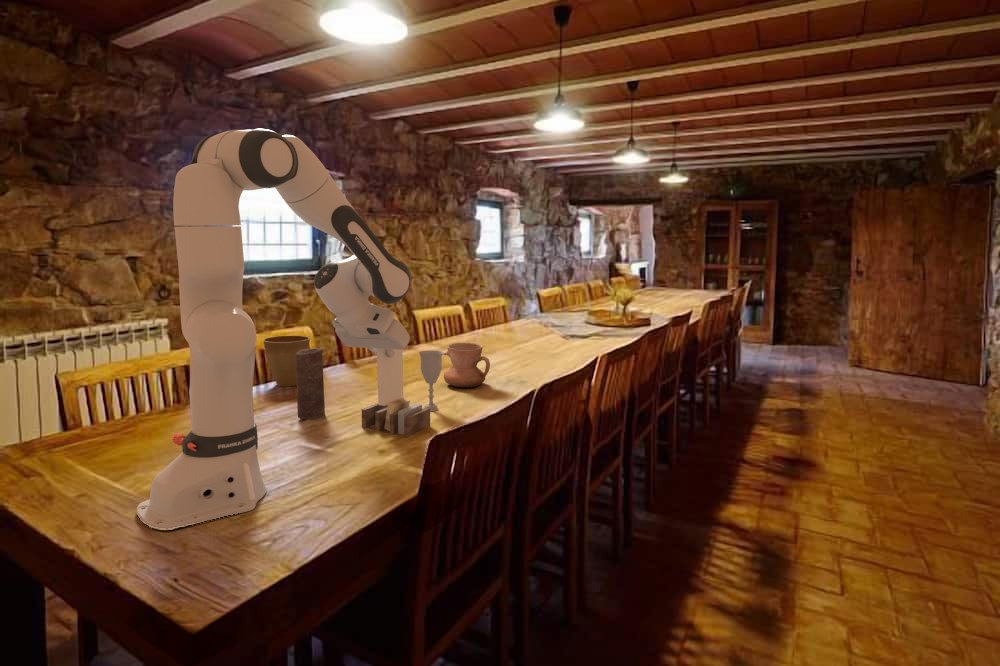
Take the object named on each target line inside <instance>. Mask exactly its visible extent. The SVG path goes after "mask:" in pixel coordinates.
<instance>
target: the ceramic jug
mask: <svg viewBox="0 0 1000 666" xmlns="http://www.w3.org/2000/svg"><path fill="white" fill-rule="evenodd" d="M442 352H443V355H442V356H447V357H448V358H449V359H450V361H451V364H452V366H451V367H450V368H448V369H447V370H445V371H444V372H443V373H444V374H443V380H444V381H445V383H446V384H448V385H449V386H451V387H455V388H461V389H462V388H463V389H465V388H474V387H477V386H478V387H479V386H480V385H482V384H483V383H484V382H485V380H486V377H487V376H488V373H489V371H490V367H491V362H490V359H489V358H488V357H487V356H483V355H482V353H483V345H482V344H479V343H474V342H453V343H449V344H448V345H447V350H445V351H442ZM481 355H482V356H481ZM482 361H484V363H485V369H484V371H482V370H481V369H480V368H479V367H477V365H478V364H479V363H480V362H482Z"/></svg>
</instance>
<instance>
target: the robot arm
mask: <svg viewBox="0 0 1000 666" xmlns="http://www.w3.org/2000/svg"><path fill="white" fill-rule="evenodd" d="M273 188H274V189H276V191H277V192H278V194H279V195H280V197H281V198H282V199H283V200H284V202H285V203H286V205H287V206H288V207H289V208H290V210H291V211H292V212H293V213H294V214H295V215H296V216H298V217H299V218H300V219H301V220H302V221H303V222H305V223H306V224H307V225H309V226H311V227H313V228H314V229H317V230H319V231H321V232H323V233H326V234H327V235H329V236H330V237H333V238H334V239H336V240H337V241H339V242H340V243H342V244H343V245H344V246H345V247H346V248H347V249H349V251H350V252H351V253H352V254H351V256H350V257H348V258H346V259H343V260H340V261H331V262H330V261H329V262H328V263H326V264H324V265H323V266H322V267H320V268H319V270H317V272H316V274H315V276H314V280H313V285H314V289H315V292H316V293H317V295H318V297H319V298H320V299H321V301H322V303H323V304H324V305H325V307H326V308H327V309H328V310H329V311H330V313H332V314H333V315H334V316H335V317H336V318H334V319H333V320H332V321H331V326H332V327H333V328H334V330H335V334H336V336H337V337H338V339H339V340H340V342H341V343H342V344H343V345H344V346H346V347H348V348H365V349H367V350H368V351H370V352H372V353H374V354H375V356H376V357H377V348H380V349H385V350H387V351H386V352H385V354H386V355H387V357H393V356H394V354H395V352H394V350H393V349H400V350H402V351H403V350H405V349H406V348H407V347H408V344H409V343H410V340H411V339H410V338H411V336H410V334H409V333H408V331H407V329H406V328H405V327H404V326H403V324H402V323H401V322H400V321H399V320H398V319H397V318H395V316H396V315H395V314H396V313H394V311H393V310H391V309H388V308H384V307H381V306H378V305H377V304H374V303H371V301H369V297H370V296H372V297H373V298H376V299H377V300H379V301H381V302H383V303H384V304H387V305H391V304H392V305H393V304H395V303H398V302H399V301H401V300H403V299H404V298H405V297H406V296H407V294H408V293H409V291H410V289H411V285H412V275H411V270H410V268H409V267H408V266H407V265H406V264H405V263H404V262H403V261H399V260H398V259H396V258H395V257H394V256H393V255H391V254H390V252H389V251H388V250H387V249H386V247H385V246H384V245H383V243H382V242H381V241H380V240H379V239H378V237H377V236H376V234H375V233H374V232H373V231H372V229H371V228H370V227H369V226H368V224H367V223H366V222H365V221H364V219H363V218H362V217H361V216H360V215H359V214H358V213H357V211H356V210H355V208H354V207H353V205H351V203H350V202H349V200H348V199H347V197H346V196H345V194H344V193H343V192H342V190H341V189H340V187H339V186H338V185H337V183H336V181H335V180H334V179H333V177H332V175H331V174H330V172H329V171H328V169H327V168H326V167H325V165H324V164H323V163H322V162H321V161H320V159H319V158H318V156H316V155H315V153H314V151H312V150H311V149H310V148H309V147H308V146H307V145H306V144H305V143H304V141H303V140H301V139H300V138H299V137H297V136H294V135H291V134H284V135H282V134H280V133H278V132H276V131H274V130H270V129H265V128H255V129H254V128H253V129H232V130H227V131H223V132H220V133H213V134H210V135H207V136H205V137H204V138H202V139H201V140H200V141H199V142H198V143H197V144H196V146H195V148H194V150H193V152H192V157H191V161H190V164H189V165H186V166H184V167H182V168H181V169H180V170H178V171H177V173H176V175H175V179H174V188H173V203H172V204H173V206H172V208H173V212H172V213H173V226H174V234H175V235H174V236H175V244H176V245H175V247H176V256H177V257H176V258H177V265H178V266H177V267H178V283H179V287H178V289H179V306H180V307H179V310H180V312H179V313H180V324H181V325H180V327H181V331H182V335H183V337H184V339H185V340H186V342H187V343H188V346H189V347H188V348H189V363H190V365H189V367H190V368H189V369H190V370H189V391H188V393H189V406H190V420H191V429H190V431H189V432H188V434H187V435H183V434H182V433H180V432H177V433H174V434H173V436H172V437H171V441H172V443H174V444H176V445H177V446H181V450H182V452H181V453H180V454H179V455H178V456H176V458H174V459H173V460H172V461H171V462H170V463H169V464H168V465H166V466H165V467H164V468H163V469H162V470H160V472H158V473H157V474H156V475H155V476H154V478H153V480H152V482H151V486H150V493H149V499H146V500H144V501H142V502H140V503H139V504H138V505H137V507H136V516H137V515H138V516H139V518H140V519H141V520H142V521H144V522H145V523H146V524H148V525H151V526H153V527H158V528H166V529H168V528H173V527H177V526H182V525H186V524H192V523H197V522H202V521H206V520H211V519H215V520H217V519H216V518H219V519H221V518H220V517H223V518H225V517H224V516H227V517H229V516H228V515H231V516H234V515H233V514H235V515H237V514H238V513H239V514H243V513H246V512H250V511H253V510H254V509H255V508H256V506H257V503H258V502H259V500H261V499H262V498H263V497H265V495H266V493H267V487H266V485H265V481H264V479H263V475H262V473H261V468H260V463H259V459H258V452H257V450H258V447H259V446H258V445H259V443H258V442H259V441H258V440H259V438H258V437H259V436H258V435H259V434H258V428H257V427H258V426H257V425H258V424H256V423H255V412H254V411H255V410H254V393H253V391H254V390H253V389H254V387H253V385H254V374H255V362H256V344H257V329H256V326H255V323H254V321H253V320H252V317H251V316H250V315H249V314H248V313H247V312H246V311H244V309H243V282H244V273H245V261H244V260H245V258H244V257H245V256H244V244H243V234H242V226H241V225H242V224H241V223H242V222H241V215H240V208H239V206H240V199H241V196H242V194H243V191H255V190H261V189H262V190H263V189H273ZM139 518H138V519H139ZM211 521H212V520H211ZM159 523H161V524H159Z"/></svg>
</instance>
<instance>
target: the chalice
mask: <svg viewBox="0 0 1000 666" xmlns="http://www.w3.org/2000/svg"><path fill="white" fill-rule="evenodd" d="M443 352H444V351H441V350H432V349H431V350H421V351H419V352H418V354H419V357H420V371H421V375H422V376H423V377H422V378H423V379H424V381H425V383H426V384H428V386H429V388H428V392H429V394H428V396H427V397H428V398H429V399H428V400H429V402H428V403H427V404H425V406H424V408H423V409H425V408H430V412H437V411H438V410H439V408H438V405H437V404H436V403H434V402H433V399H434V398H435V395H434V394H433V393H434V391H435V390H434V387H433V386H434V384H437V382H438V379H439V377H440V374H441V372H442V370H443V369H442V368H443V366H442V362H443V361H442V359H443V356H444V355H443Z"/></svg>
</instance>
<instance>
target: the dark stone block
mask: <svg viewBox="0 0 1000 666" xmlns="http://www.w3.org/2000/svg"><path fill="white" fill-rule="evenodd" d="M323 357H324V356H323V349H322V348H311V349H310V348H309V349H302V350H300V351H299V352H297V353H296V379H297V385H296V406H297V407H296V409H297V418H298V419H300V420H316V419H317V420H318V419H320V418H321V419H322V418H324V417H326V411H325V410H326V409H325V408H326V407H325V405H326V404H325V385H324V363H323V362H324V361H323V360H324V359H323Z"/></svg>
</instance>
